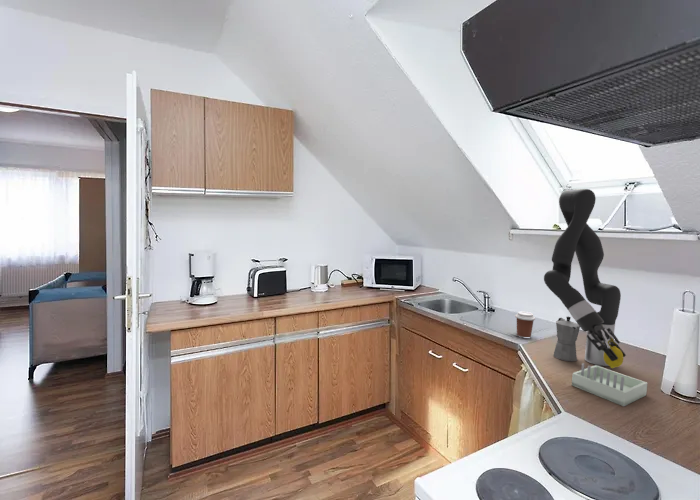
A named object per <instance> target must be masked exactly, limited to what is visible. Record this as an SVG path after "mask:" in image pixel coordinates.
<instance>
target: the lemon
mask: <svg viewBox="0 0 700 500" xmlns="http://www.w3.org/2000/svg"><path fill="white" fill-rule="evenodd" d="M610 349H612V351H613V352H614V353H615V354H616V356H617V357H618V359H617V360H615V361H611V360H610V358H609V357H608V356H607V354H606V353H605V352H604V361H605V363H606V364H607V365H609V366H608V367H609V368H611V369H615V368H618V367H621V366H622V364H623V362H624V357H623V353H622V351H623V350H622V351H621V350H620V349H618V348H617V347H616V346H613V347H610Z"/></svg>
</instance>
